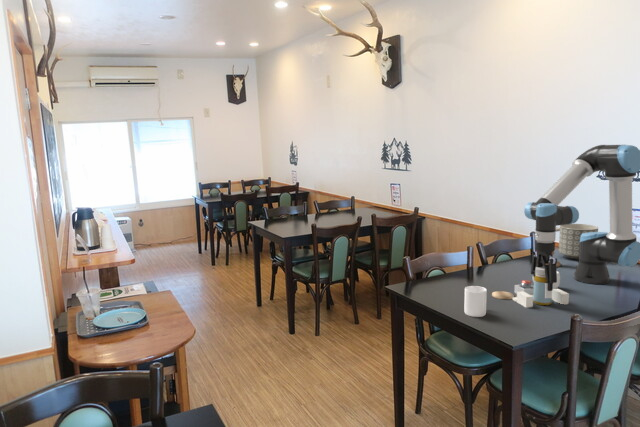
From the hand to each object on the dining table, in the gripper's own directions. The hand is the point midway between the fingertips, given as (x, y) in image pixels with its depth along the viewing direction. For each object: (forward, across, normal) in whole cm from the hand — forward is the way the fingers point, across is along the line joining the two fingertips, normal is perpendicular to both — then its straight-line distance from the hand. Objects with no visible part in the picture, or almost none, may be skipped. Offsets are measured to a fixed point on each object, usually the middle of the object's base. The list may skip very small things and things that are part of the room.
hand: (542, 294), depth 204 cm
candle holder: (+4, -55, +39) cm, 68 cm away
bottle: (+4, 0, 0) cm, 4 cm away
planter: (+4, -64, +63) cm, 90 cm away
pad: (+4, -12, -11) cm, 17 cm away
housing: (+4, -6, 0) cm, 7 cm away
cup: (+4, +4, -31) cm, 31 cm away
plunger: (+2, -12, 0) cm, 12 cm away
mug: (+4, -19, +14) cm, 24 cm away
